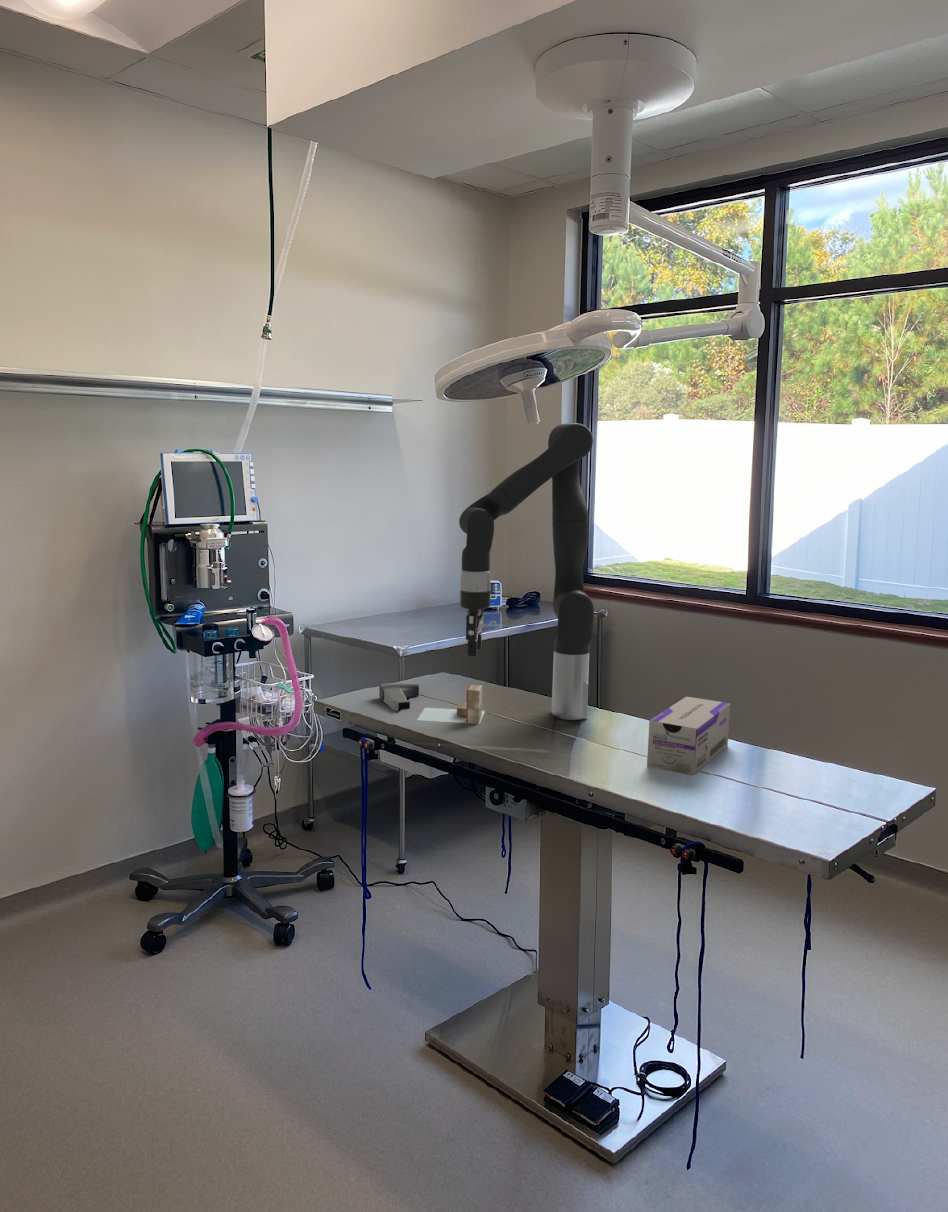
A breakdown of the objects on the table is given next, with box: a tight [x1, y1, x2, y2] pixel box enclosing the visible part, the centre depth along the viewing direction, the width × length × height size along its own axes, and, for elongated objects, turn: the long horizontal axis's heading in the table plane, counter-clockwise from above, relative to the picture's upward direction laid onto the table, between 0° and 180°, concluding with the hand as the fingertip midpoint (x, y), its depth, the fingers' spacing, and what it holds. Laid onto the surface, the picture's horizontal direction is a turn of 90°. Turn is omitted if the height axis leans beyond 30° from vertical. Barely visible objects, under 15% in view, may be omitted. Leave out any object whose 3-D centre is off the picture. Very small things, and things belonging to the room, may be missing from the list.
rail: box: [456, 700, 467, 718], centre depth 241 cm, size 2×7×2 cm, turn 173°
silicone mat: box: [416, 707, 486, 725], centre depth 239 cm, size 16×12×1 cm
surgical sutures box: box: [646, 696, 731, 776], centre depth 212 cm, size 25×11×11 cm, turn 149°
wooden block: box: [465, 684, 483, 725], centre depth 235 cm, size 3×6×8 cm, turn 173°
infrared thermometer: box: [378, 682, 420, 713], centre depth 253 cm, size 5×12×15 cm
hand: (474, 652), depth 233 cm, fingers open, 8 cm apart
